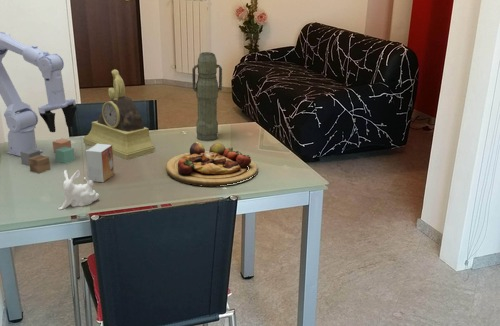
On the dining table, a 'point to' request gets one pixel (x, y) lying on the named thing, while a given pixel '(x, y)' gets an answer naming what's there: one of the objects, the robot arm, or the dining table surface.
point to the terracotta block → (61, 144)
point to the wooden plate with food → (211, 166)
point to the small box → (100, 162)
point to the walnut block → (39, 164)
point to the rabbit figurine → (77, 192)
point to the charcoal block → (28, 155)
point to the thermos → (207, 95)
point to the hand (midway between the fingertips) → (61, 129)
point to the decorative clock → (120, 125)
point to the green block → (64, 154)
